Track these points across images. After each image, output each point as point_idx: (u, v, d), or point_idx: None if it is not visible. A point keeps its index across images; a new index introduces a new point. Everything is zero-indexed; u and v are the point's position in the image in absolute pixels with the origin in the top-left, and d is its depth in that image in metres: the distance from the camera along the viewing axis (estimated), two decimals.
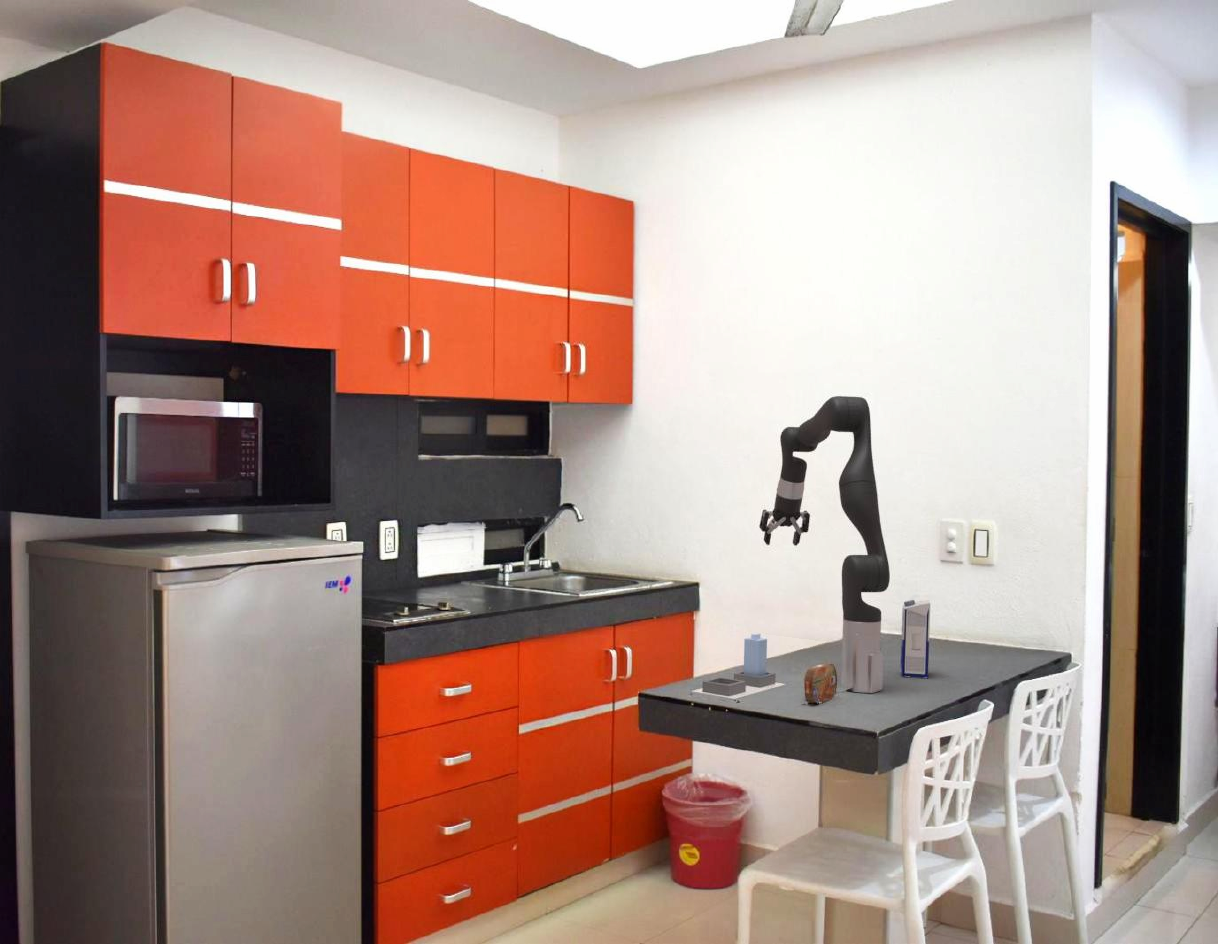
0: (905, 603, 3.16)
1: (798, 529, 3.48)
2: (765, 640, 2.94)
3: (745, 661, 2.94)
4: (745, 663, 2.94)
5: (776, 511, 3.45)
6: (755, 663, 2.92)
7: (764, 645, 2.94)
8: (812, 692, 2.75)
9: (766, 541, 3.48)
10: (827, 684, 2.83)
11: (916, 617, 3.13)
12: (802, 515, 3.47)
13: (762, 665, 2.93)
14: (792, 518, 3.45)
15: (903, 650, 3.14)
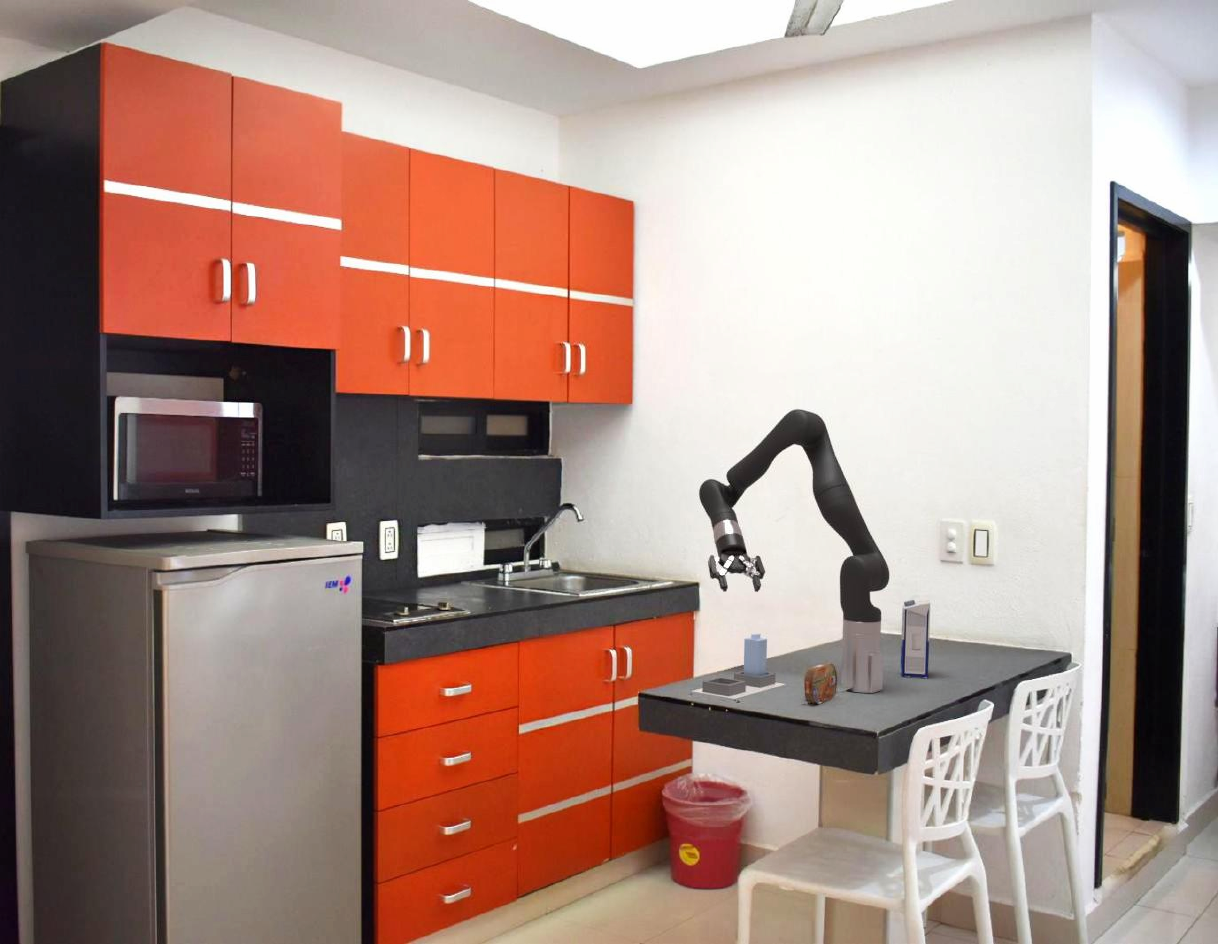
0: (905, 603, 3.16)
1: (753, 570, 3.09)
2: (765, 640, 2.94)
3: (745, 661, 2.94)
4: (745, 663, 2.94)
5: (721, 554, 3.12)
6: (755, 663, 2.92)
7: (764, 645, 2.94)
8: (812, 692, 2.75)
9: (723, 584, 3.05)
10: (827, 684, 2.83)
11: (916, 617, 3.13)
12: (752, 559, 3.13)
13: (762, 665, 2.93)
14: (741, 557, 3.11)
15: (903, 650, 3.14)
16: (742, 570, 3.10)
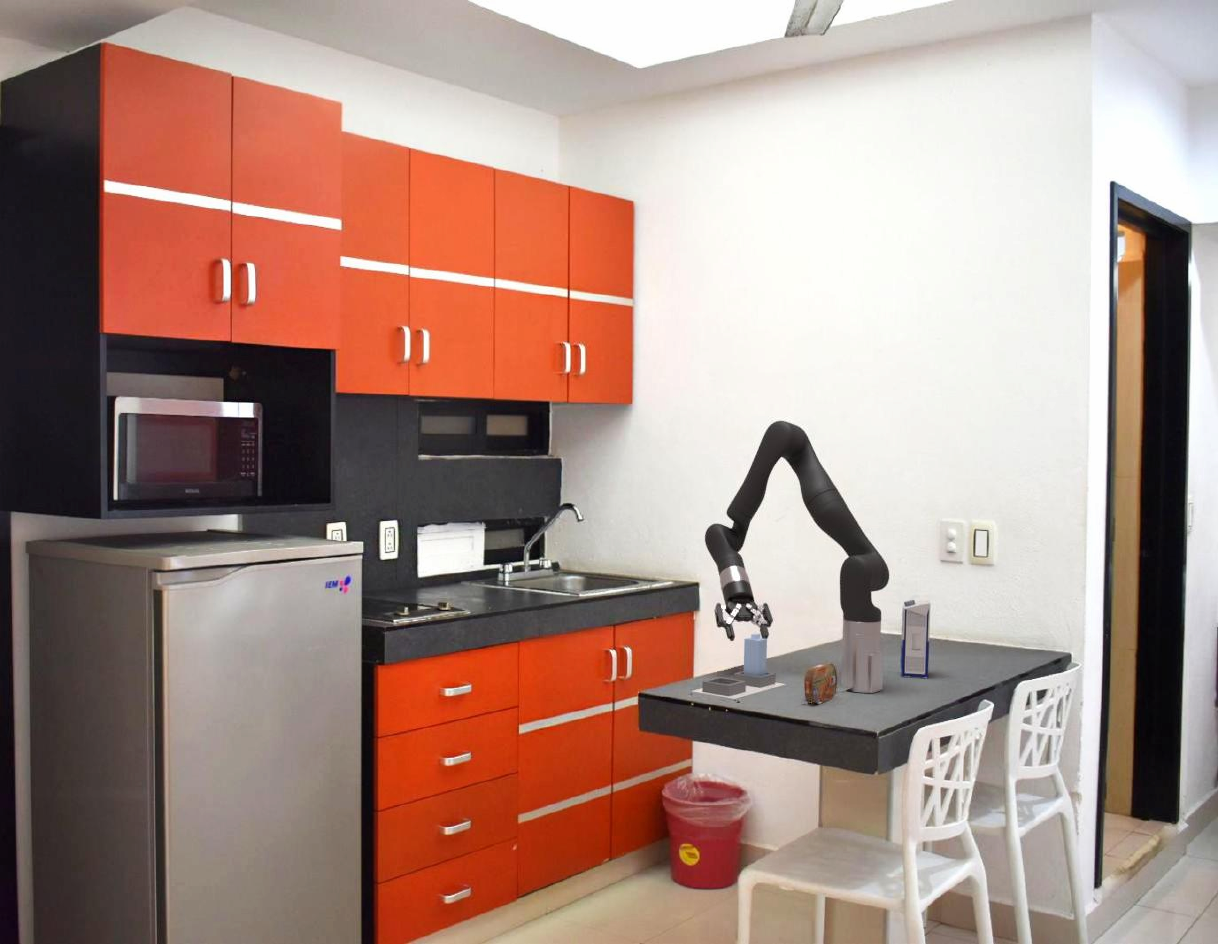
0: (905, 603, 3.16)
1: (761, 618, 3.03)
2: (765, 640, 2.94)
3: (745, 661, 2.94)
4: (745, 663, 2.94)
5: (728, 602, 3.05)
6: (755, 663, 2.92)
7: (764, 645, 2.94)
8: (812, 692, 2.75)
9: (730, 633, 2.99)
10: (827, 684, 2.83)
11: (916, 617, 3.13)
12: (759, 607, 3.06)
13: (762, 665, 2.93)
14: (748, 605, 3.04)
15: (903, 650, 3.14)
16: (749, 618, 3.04)
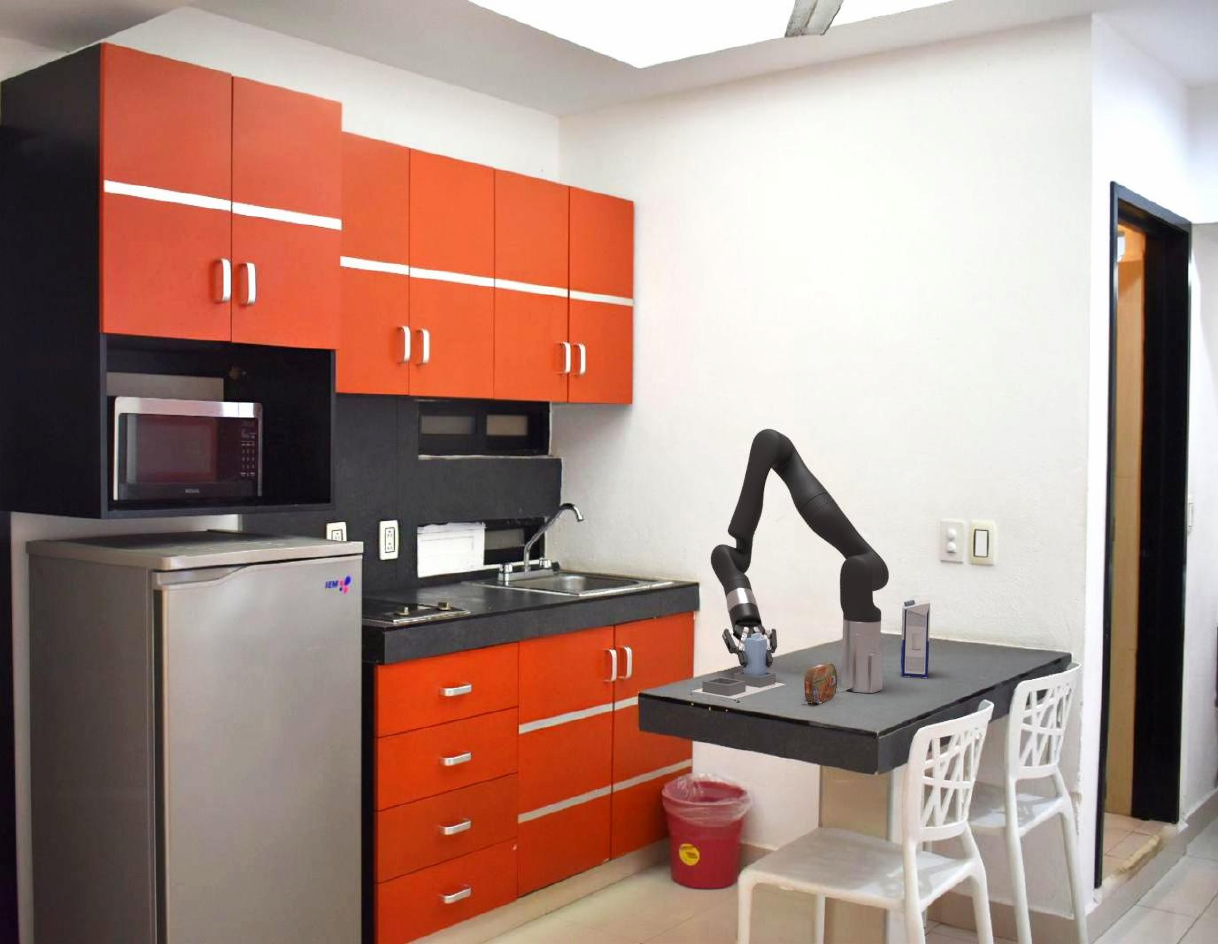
0: (905, 603, 3.16)
1: None
2: (765, 640, 2.94)
3: None
4: None
5: (735, 625, 2.99)
6: (755, 663, 2.92)
7: (764, 645, 2.94)
8: (812, 692, 2.75)
9: (742, 660, 2.92)
10: (827, 684, 2.83)
11: (916, 617, 3.13)
12: (767, 632, 3.00)
13: (762, 665, 2.93)
14: (756, 628, 2.98)
15: (903, 650, 3.14)
16: None
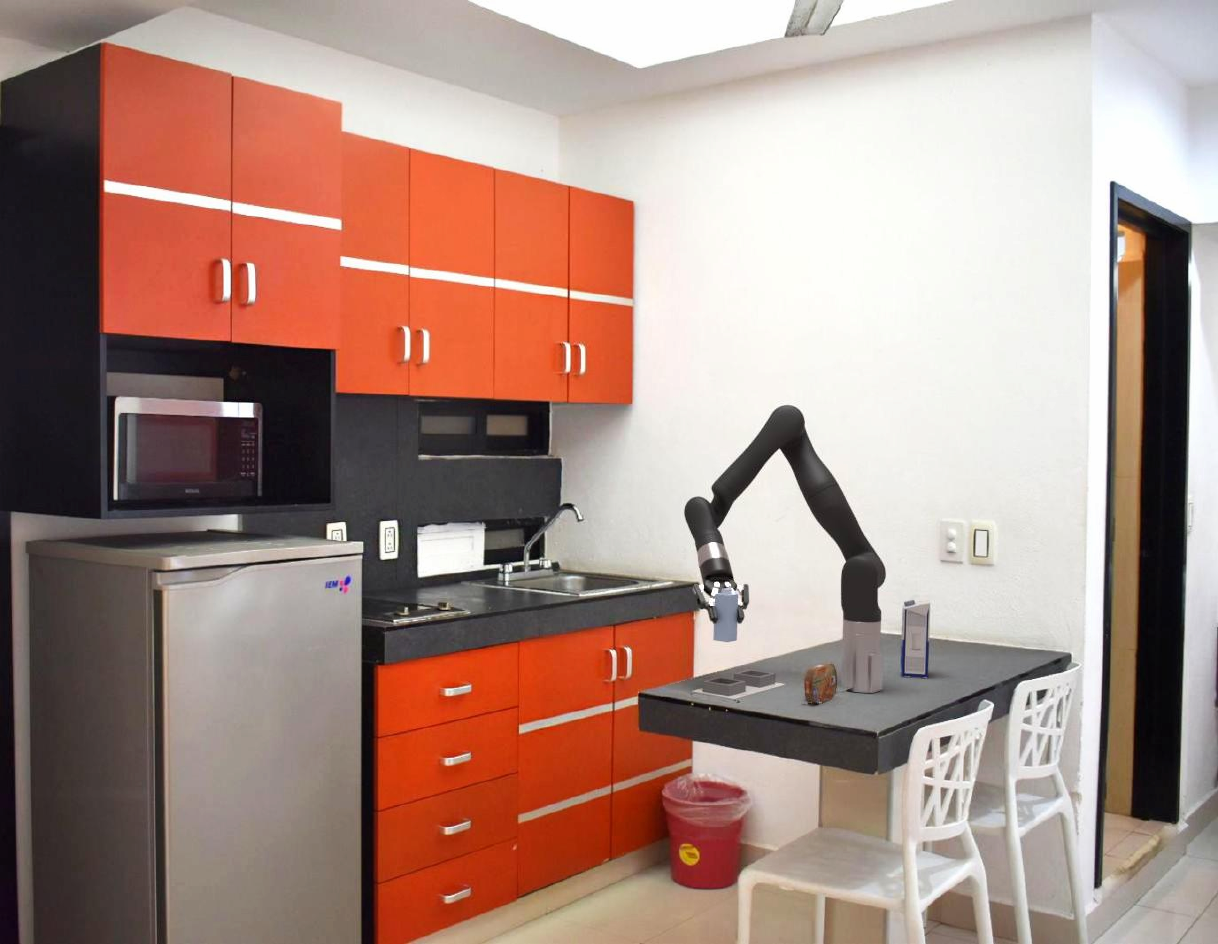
0: (905, 603, 3.16)
1: None
2: (736, 595, 2.83)
3: None
4: None
5: (706, 580, 2.88)
6: (725, 618, 2.81)
7: (735, 600, 2.83)
8: (812, 692, 2.75)
9: (712, 616, 2.81)
10: (827, 684, 2.83)
11: (916, 617, 3.13)
12: (739, 587, 2.89)
13: (733, 621, 2.82)
14: (727, 583, 2.87)
15: (903, 650, 3.14)
16: None
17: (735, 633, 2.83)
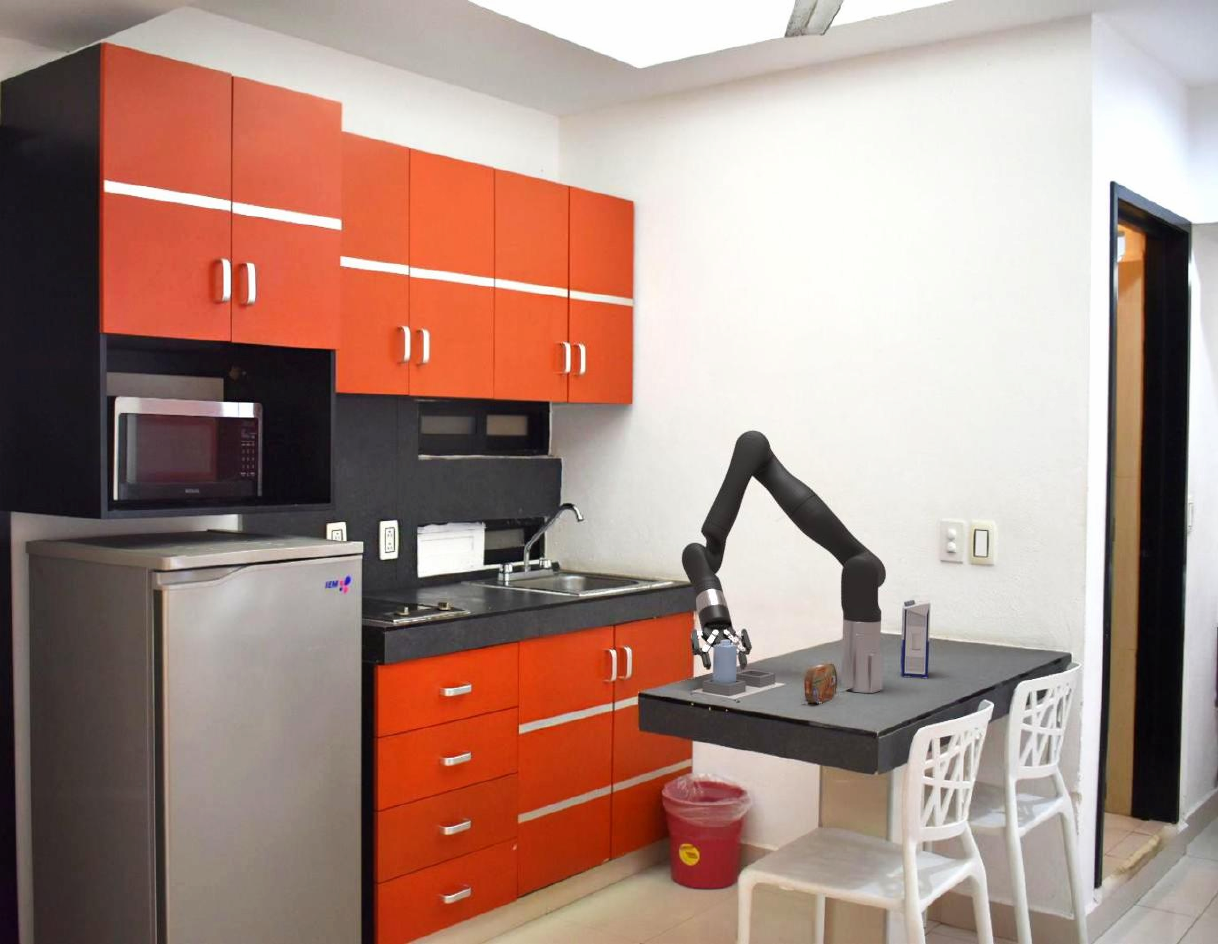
0: (905, 603, 3.16)
1: (739, 645, 2.86)
2: (735, 646, 2.83)
3: (714, 668, 2.83)
4: (714, 670, 2.83)
5: (704, 628, 2.88)
6: (724, 670, 2.81)
7: (734, 652, 2.83)
8: (812, 692, 2.75)
9: (706, 662, 2.81)
10: (827, 684, 2.83)
11: (916, 617, 3.13)
12: (738, 633, 2.89)
13: (732, 673, 2.83)
14: (726, 631, 2.87)
15: (903, 650, 3.14)
16: None
17: None
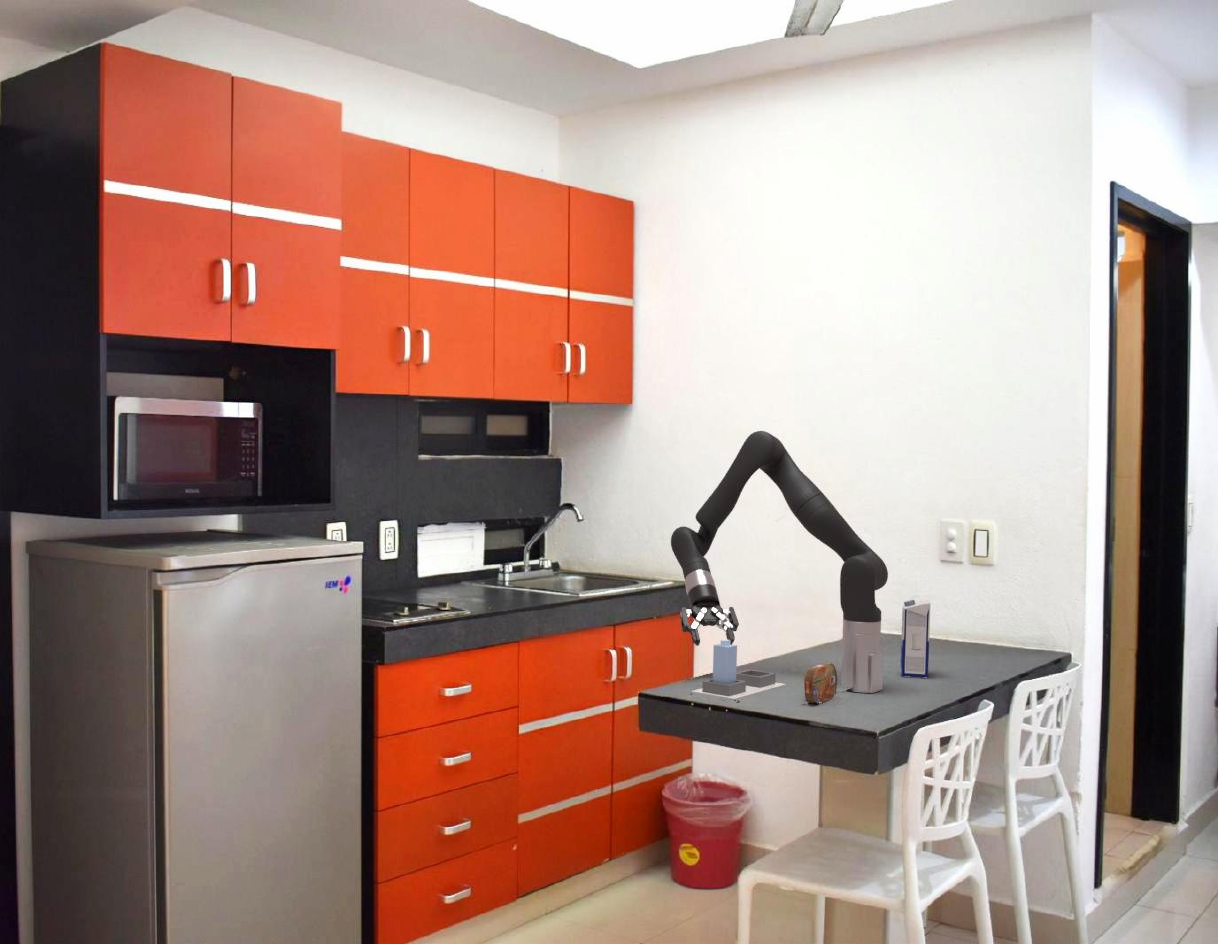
0: (905, 603, 3.16)
1: (727, 622, 2.99)
2: (735, 646, 2.83)
3: (714, 668, 2.83)
4: (714, 670, 2.83)
5: (693, 606, 3.01)
6: (724, 670, 2.81)
7: (734, 652, 2.83)
8: (812, 692, 2.75)
9: (695, 638, 2.95)
10: (827, 684, 2.83)
11: (916, 617, 3.13)
12: (725, 611, 3.03)
13: (732, 673, 2.83)
14: (714, 609, 3.01)
15: (903, 650, 3.14)
16: (715, 622, 3.00)
17: None
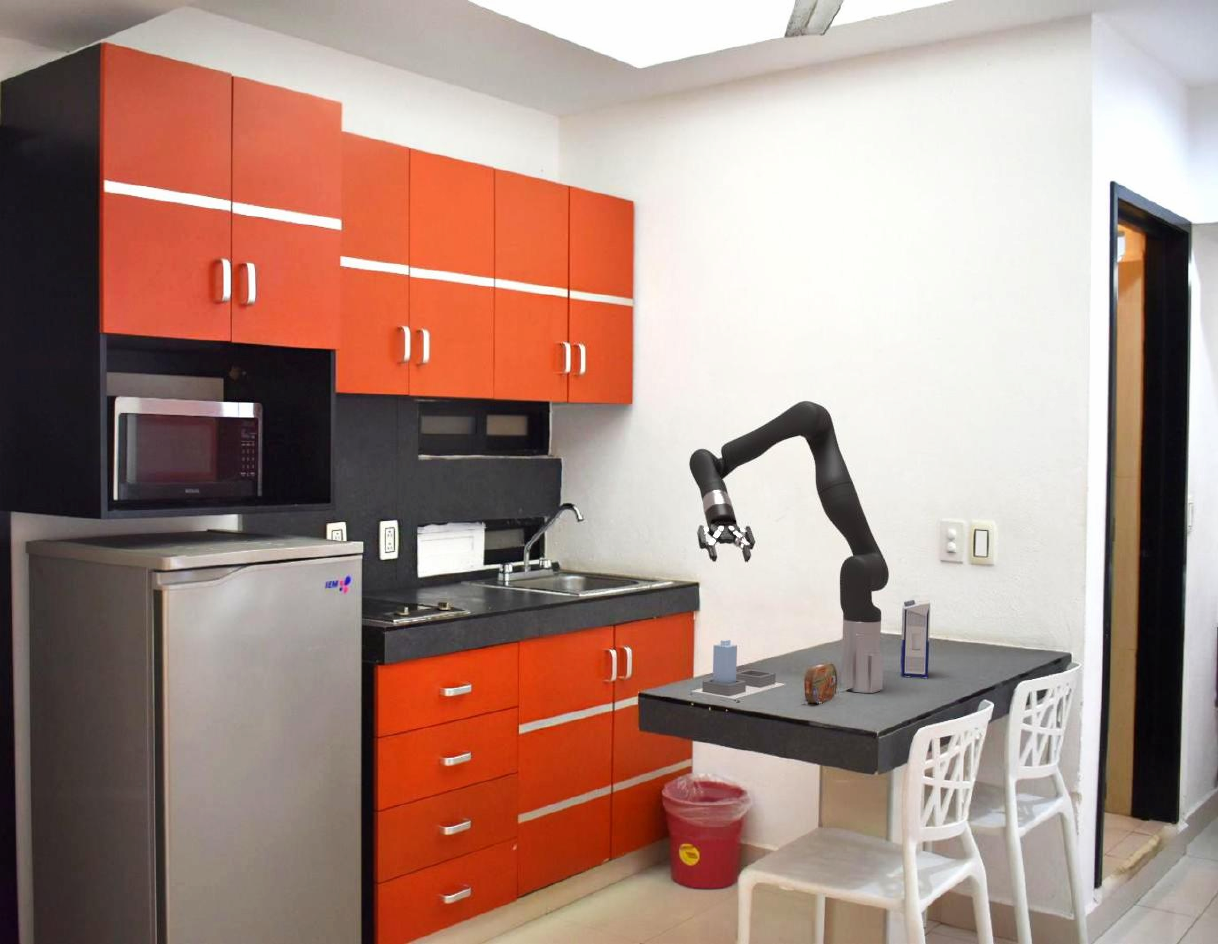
0: (905, 603, 3.16)
1: (743, 540, 3.05)
2: (735, 646, 2.83)
3: (714, 668, 2.83)
4: (714, 670, 2.83)
5: (710, 524, 3.07)
6: (724, 670, 2.81)
7: (734, 652, 2.83)
8: (812, 692, 2.75)
9: (712, 554, 3.00)
10: (827, 684, 2.83)
11: (916, 617, 3.13)
12: (742, 530, 3.08)
13: (732, 673, 2.83)
14: (731, 527, 3.06)
15: (903, 650, 3.14)
16: (732, 540, 3.05)
17: None
